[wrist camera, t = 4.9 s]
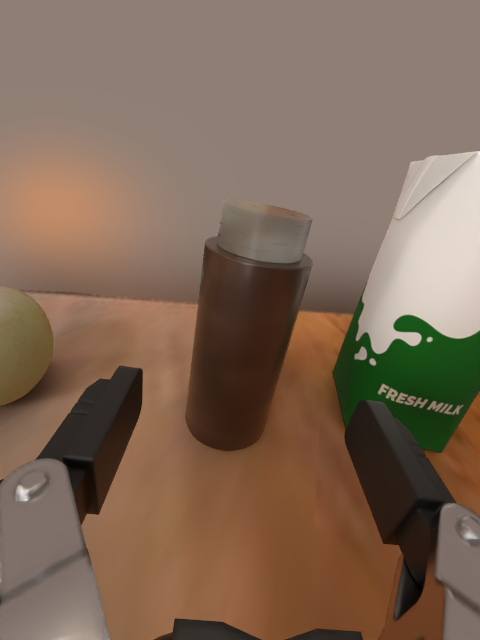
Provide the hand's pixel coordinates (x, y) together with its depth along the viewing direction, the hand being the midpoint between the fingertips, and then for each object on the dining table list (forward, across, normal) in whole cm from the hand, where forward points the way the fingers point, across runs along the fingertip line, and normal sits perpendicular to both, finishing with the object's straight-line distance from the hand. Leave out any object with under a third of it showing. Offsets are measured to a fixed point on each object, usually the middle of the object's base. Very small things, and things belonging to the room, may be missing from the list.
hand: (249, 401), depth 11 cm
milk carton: (+10, -13, +8) cm, 18 cm away
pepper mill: (+7, 0, +8) cm, 10 cm away
